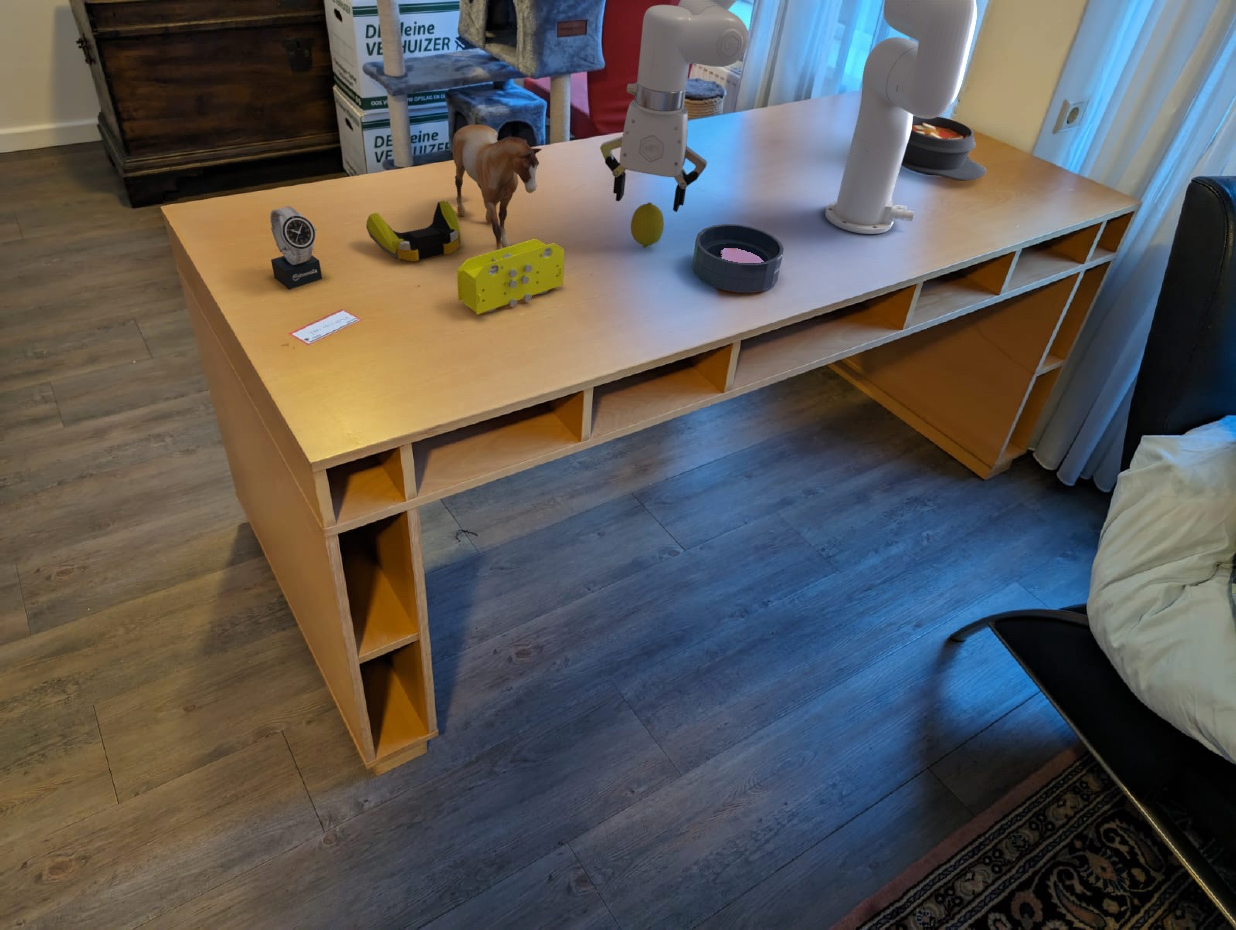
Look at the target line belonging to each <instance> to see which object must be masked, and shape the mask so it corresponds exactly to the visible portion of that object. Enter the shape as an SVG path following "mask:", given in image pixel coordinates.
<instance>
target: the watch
mask: <svg viewBox="0 0 1236 930" xmlns="http://www.w3.org/2000/svg"><path fill="white" fill-rule="evenodd" d="M269 218H270V219H269V220H270V226H271V227H270V230H271V233H272V236H273V238H274V241H275V245H276V247H277V248H278V251H279V252H280V253H281V254H282V256H278V257H275V258H271V259H270V263H271V267H272V273H273V276H274V280H276V281H277V282H279V283H280V284H281V285H282V286H283V287H285V289H287V290H292V289H295V288H298V287H302V286H305V285H308V284H311V283H314V282H317V281H321V280H323V274H322V268H321V263H320V259H318V258H316V257H315V256H314V255H313V251H314V250H315V240H316V236H317V235H316V231H317V227H316V225H314V224H313V223H312V222H311V221H310V219H308V218H307V217H305V216H304V215H303V214H302V213H301V212H300V211H299V210H296V209H295V208H293V207H292V206H290V205H289V206H284V207H280V208H276V209H272V210H271V212H270V215H269Z"/></svg>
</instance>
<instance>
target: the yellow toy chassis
mask: <svg viewBox="0 0 1236 930" xmlns="http://www.w3.org/2000/svg"><path fill="white" fill-rule="evenodd" d="M564 263H565V249H564V248H563V247H562V246H560V245H559V244H557V243H556V242H552V243H549V244H546V243H545V242H542V241H541V240H539V239H537V238H532V239H529V240H526V241H522V242H519V243H515V244H512V245H510V246H509V247H506V248H502V249H499V250H497V249H496V250H493V251H489V252H486V253H483V254H480V255H476V256H473V257H470V258H467V259H466V260H465V261H464V262H463V263H462V264H461V265H460V266H459V267H458V268H457V270H456V281H457V299H458V301H459V302H460V301H462V303H463V304H464V305H465V306H467V307H468V308H469V309H470V310H472V311H473V312H475V314H476V315H480V314H483V313H492V312H495V311H496V310H497V309H498V308H500V307H503V306H506V305H509V306H510V307H511V308H514V307H515V306H517V304H518V301H520V300H524V301H525V302H530V301H531V300H532V296H535V295H544V294H547V293H549V290H552V289H555V288H558V287H561V286H564V270H565V269H564V268H565V264H564Z"/></svg>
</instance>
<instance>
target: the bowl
mask: <svg viewBox="0 0 1236 930" xmlns="http://www.w3.org/2000/svg"><path fill="white" fill-rule="evenodd" d="M695 237H696V238H695V241H694V248H693V256H692V261H691V269H692V272H693V274H694V275H695V276H696V277H697V278H698V279H699V281H701V282H703V283H705V284H706V285H708V286H710V287H712V288H715V289H719V290H722V291H726V292H733V293H746V294H747V293H757V292H764V291H765V290H767V289H770V288H772V287H773V286H774V285H775V284H776V283H777V282H778V278H779V273H780V269H781V265H782V259H783V256H784V251H785V248H784V246H783V244H782V242H781V241H780V240H779V239H778V238H776V237H775V235H773V234H771V233H769V232H767V231H765V230H763V229H760V228H756V227H753V226H749V225H743V224H735V223H733V224H731V223H721V224H714V225H711V226H708V227H705V228H703V229H702V230H700V231H699V232H698V233H697V234H696V236H695ZM724 248H738V249H741V250H745V251H747V252H751V253H753V254H755V255H757V256H759V257H760V258H761V259H762V260H763V261H764V262H761V263H738V262H733V261H728V260H725V259H722V258H721V257H722V256H721V255H722V254H720V255H718V254H719V252H720V251H721V250H723V249H724Z"/></svg>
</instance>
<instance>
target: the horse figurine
mask: <svg viewBox="0 0 1236 930" xmlns="http://www.w3.org/2000/svg"><path fill="white" fill-rule="evenodd" d="M498 137H499V133H498V132H497V130H496V129H494V128H492V127H491V126H488V125H485V124H467V125H464V126H463V127H461V128H459V129H458V130H457V131H456V132H455V133H454V135H453V138H452V157H453V162H454V165H455V176H454V179H455V180H454V184H455V187H456V199H455V200H456V201H455V202H456V203H457V206H456V209H457V211H456V212H457V214H458V216H460V217H465V216H466V215H467V214H468V212H467V210H466V207H465V205H464V204H463V203H464V202H463V196H462V187H463V183H464V180H463V178H464V175H465V172H466V174H467V175H468V177H469V178H471V180H473V181H474V182H475V183H476V184H477V186H478V187H479V189H480V191H481V197H482V198H483V205H484V208H485V209H486V212H485V221H486V222H487V223H488V224H491V228H492V234H493V235H494V237H495V242H496V243H495V245H496V250H499V249H502V248H506V247H509V246H511V245H510V242H509V239H508V238H507V236H506V228H505V221H506V219H507V216H508V206H509V204H510V202H511V200H512V198H513V196H514V193H515V192H516V190H517V189H518V187H519V186H518V185H519V178H520V180H521V181H522V183H523V185H524V189H525V192H526V193H528V194H532V193H534V192H535V191H536V190H537V188H538V184H537V181H536V175H537V173H536V172H537V169H538V166H539V165H540V161H539V160H538V157H537V155H536V154H538V153H539V152H540V151H542V148H537V147H535V148H533V147H531V146H530V145H529V144H528V140H527V139H523V138H522V137H517V136H507V137H504V138H502V139H499V140H498ZM518 176H519V178H518ZM498 204H499V208H498V210H497V205H498ZM497 211H498V212H497Z"/></svg>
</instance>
